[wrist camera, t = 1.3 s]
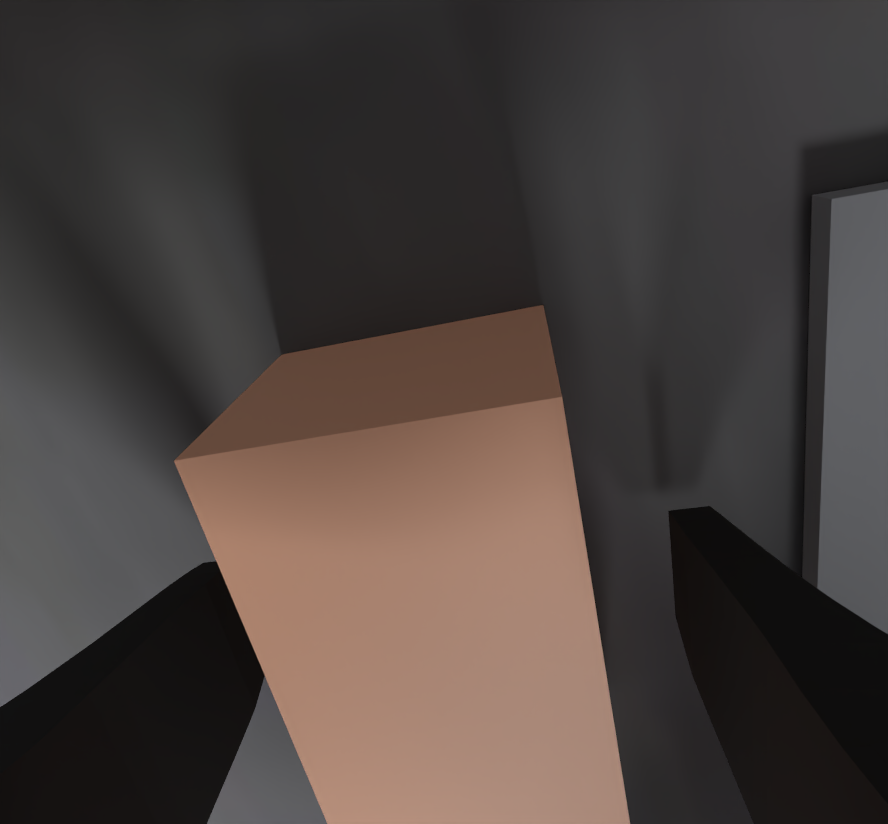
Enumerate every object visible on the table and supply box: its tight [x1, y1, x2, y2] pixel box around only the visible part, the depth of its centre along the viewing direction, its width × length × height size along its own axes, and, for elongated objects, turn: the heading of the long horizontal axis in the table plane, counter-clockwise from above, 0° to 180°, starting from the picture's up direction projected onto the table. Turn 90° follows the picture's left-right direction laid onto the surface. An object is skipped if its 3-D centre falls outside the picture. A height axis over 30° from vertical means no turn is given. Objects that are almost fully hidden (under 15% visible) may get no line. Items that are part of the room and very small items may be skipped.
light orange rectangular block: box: [174, 305, 630, 824], centre depth 10 cm, size 8×4×4 cm, turn 12°
